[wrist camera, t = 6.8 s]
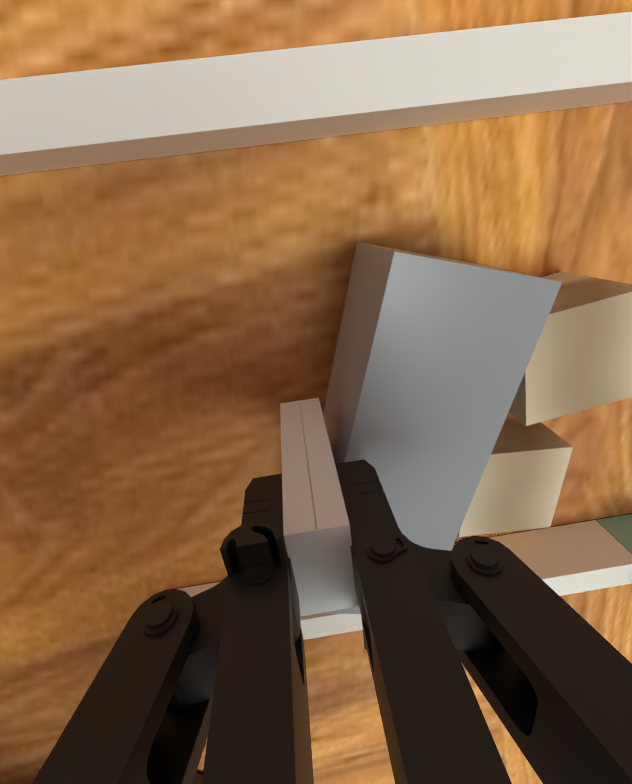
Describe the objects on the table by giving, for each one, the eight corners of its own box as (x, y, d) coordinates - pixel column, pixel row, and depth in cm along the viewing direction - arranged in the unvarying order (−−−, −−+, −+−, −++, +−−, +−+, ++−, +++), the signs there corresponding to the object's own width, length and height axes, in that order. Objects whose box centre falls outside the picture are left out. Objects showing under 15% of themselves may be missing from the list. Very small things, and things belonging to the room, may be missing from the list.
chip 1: (473, 383, 17) (526, 426, 14) (466, 298, 16) (524, 321, 12) (558, 359, 17) (633, 396, 14) (560, 271, 16) (646, 287, 12)
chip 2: (424, 477, 19) (458, 537, 16) (431, 408, 18) (471, 456, 14) (499, 470, 20) (550, 527, 16) (512, 401, 18) (573, 446, 14)
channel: (175, 608, 22) (161, 664, 19) (-23, 121, 12) (-111, 91, 9) (590, 539, 23) (633, 582, 20) (719, 38, 13) (838, -11, 10)
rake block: (301, 523, 20) (308, 613, 15) (356, 241, 14) (394, 251, 10) (391, 528, 21) (424, 615, 16) (476, 263, 15) (562, 281, 11)
